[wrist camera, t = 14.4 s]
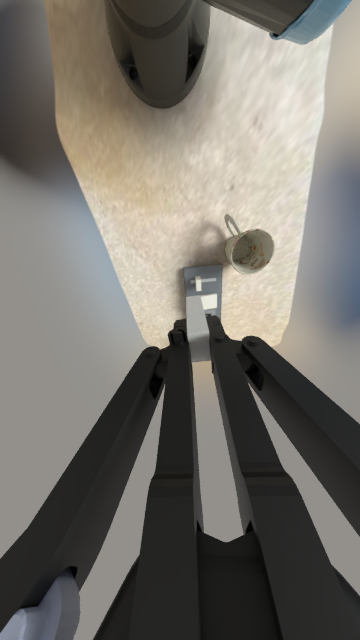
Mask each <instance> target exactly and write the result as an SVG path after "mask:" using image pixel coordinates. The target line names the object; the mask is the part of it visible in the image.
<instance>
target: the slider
mask: <svg viewBox="0 0 360 640" xmlns="http://www.w3.org/2000/svg"><path fill="white" fill-rule="evenodd" d="M195 285H196V291H201V278H200V276H195Z"/></svg>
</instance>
